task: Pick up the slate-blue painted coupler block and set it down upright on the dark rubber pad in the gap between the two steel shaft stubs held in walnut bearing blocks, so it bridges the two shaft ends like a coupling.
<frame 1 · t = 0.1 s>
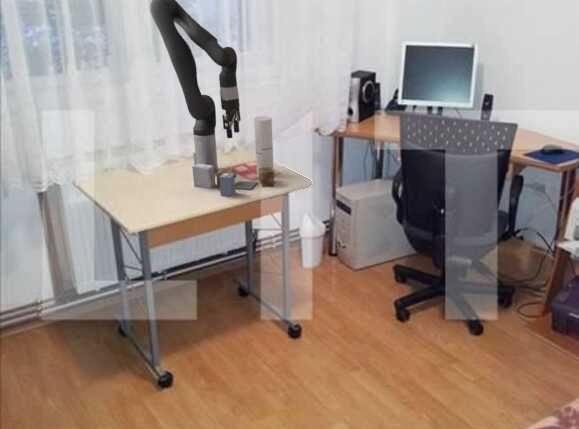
hand: (233, 135, 272), 17 cm above the table, tool pointing down, fingers open, 8 cm apart
medicine box: (204, 186, 266), on the table
coupler block: (228, 194, 256), on the table
cylindrical container: (265, 175, 275), on the table
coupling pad: (245, 186, 264), on the table
bearing block b: (266, 183, 266), on the table
bearing block a: (225, 184, 266), on the table
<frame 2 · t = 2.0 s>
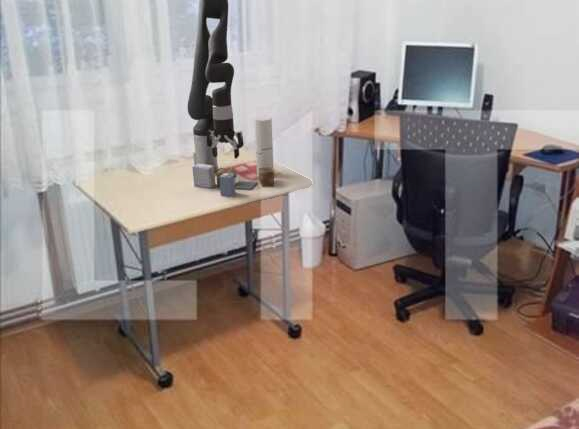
hand: (226, 157, 250), 15 cm above the table, tool pointing down, fingers open, 8 cm apart
nothing on the table moved.
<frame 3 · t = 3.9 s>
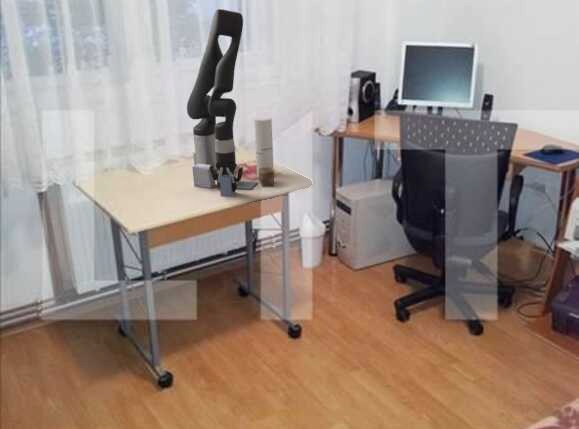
hand: (228, 190, 255), 2 cm above the table, tool pointing down, fingers closed on coupler block, 4 cm apart
coupler block: (228, 194, 256), on the table, touching gripper
everything else where it was.
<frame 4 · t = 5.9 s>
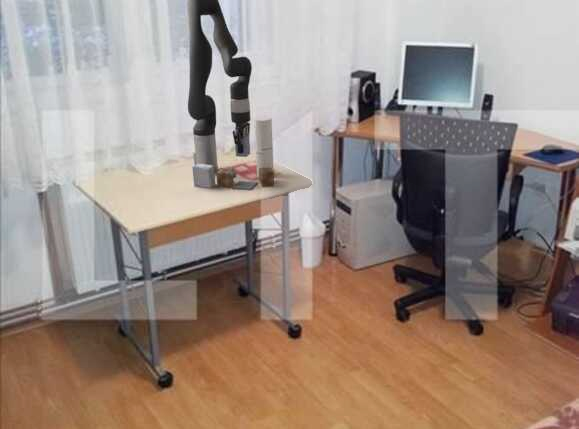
hand: (242, 151, 258), 15 cm above the table, tool pointing down, fingers closed on coupler block, 4 cm apart
coupler block: (243, 154, 258), point 13 cm above the table, touching gripper
everything else where it was.
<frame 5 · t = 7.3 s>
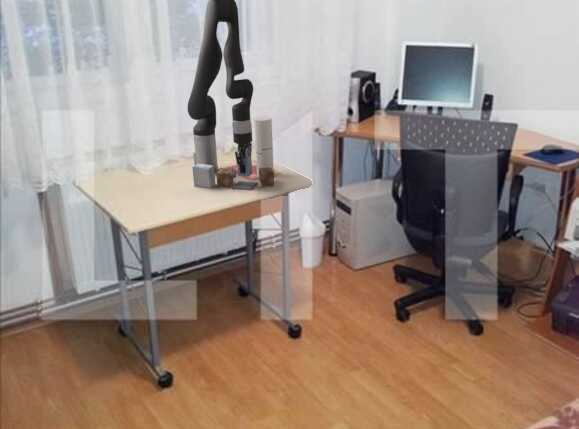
hand: (245, 171, 261), 6 cm above the table, tool pointing down, fingers closed on coupler block, 4 cm apart
coupler block: (245, 174, 262), point 5 cm above the table, touching gripper
everything else where it was.
when the fingers open (3 cm above the table, at t = 8.3 s): coupler block drops 1 cm, resting on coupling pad.
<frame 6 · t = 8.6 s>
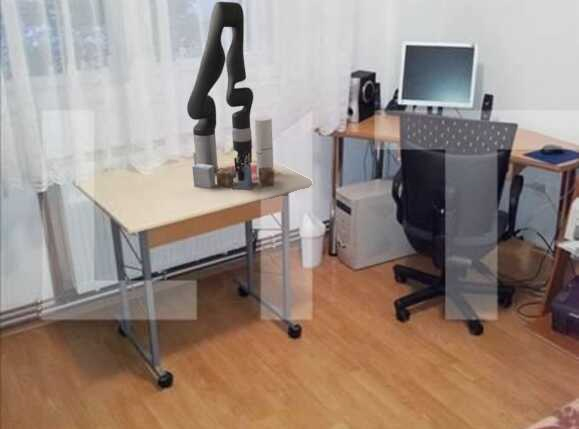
hand: (244, 177, 262), 4 cm above the table, tool pointing down, fingers open, 6 cm apart
coupler block: (245, 184, 263), point 1 cm above the table, touching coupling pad
everything else where it was.
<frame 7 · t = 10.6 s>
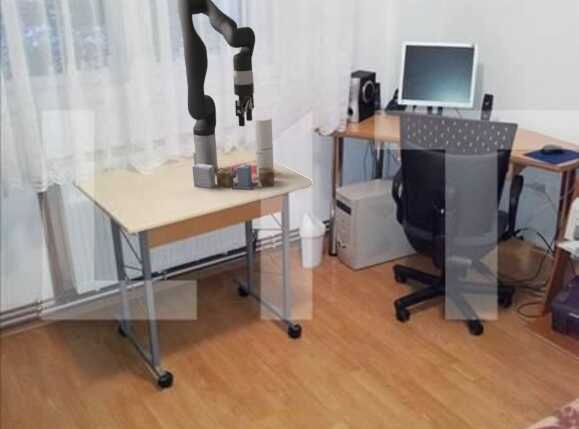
hand: (245, 123, 251), 27 cm above the table, tool pointing down, fingers open, 8 cm apart
nothing on the table moved.
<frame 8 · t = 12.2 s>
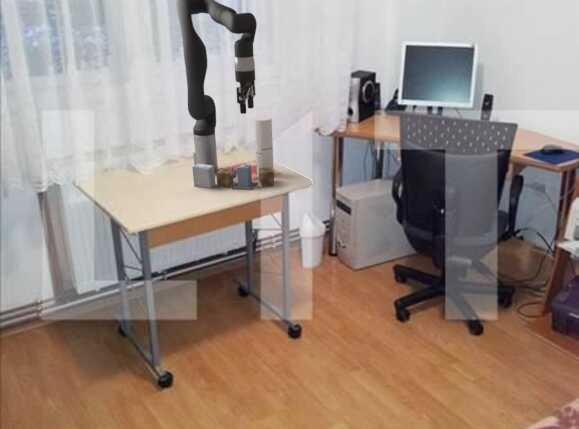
hand: (247, 110, 248), 32 cm above the table, tool pointing down, fingers open, 8 cm apart
nothing on the table moved.
at the end: coupler block inside the target area on the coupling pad (0.0 cm from its centre), point 0.6 cm above the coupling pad's base; coupler block tilted 0°; the gripper is holding nothing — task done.
